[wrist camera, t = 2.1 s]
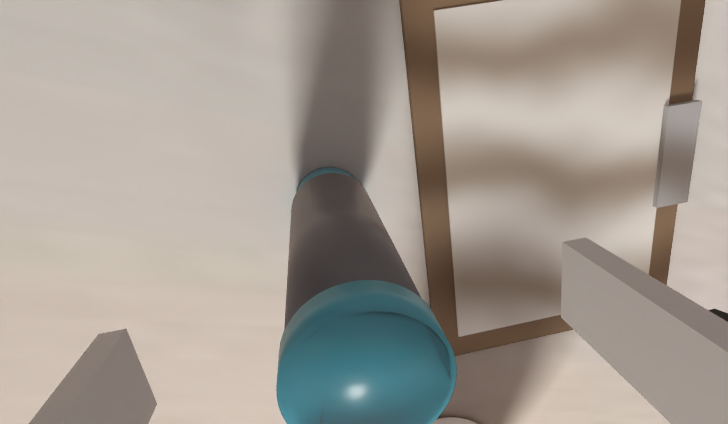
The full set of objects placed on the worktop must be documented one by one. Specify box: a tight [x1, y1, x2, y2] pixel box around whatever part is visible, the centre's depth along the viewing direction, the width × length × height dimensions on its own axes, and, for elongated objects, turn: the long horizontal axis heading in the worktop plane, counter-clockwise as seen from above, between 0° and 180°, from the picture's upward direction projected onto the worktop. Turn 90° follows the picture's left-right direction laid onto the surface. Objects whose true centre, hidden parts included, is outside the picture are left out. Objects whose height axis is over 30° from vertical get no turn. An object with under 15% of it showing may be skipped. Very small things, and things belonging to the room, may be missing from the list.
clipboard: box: [399, 0, 705, 356], centre depth 24 cm, size 22×16×1 cm
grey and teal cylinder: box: [277, 167, 457, 424], centre depth 16 cm, size 4×4×14 cm
